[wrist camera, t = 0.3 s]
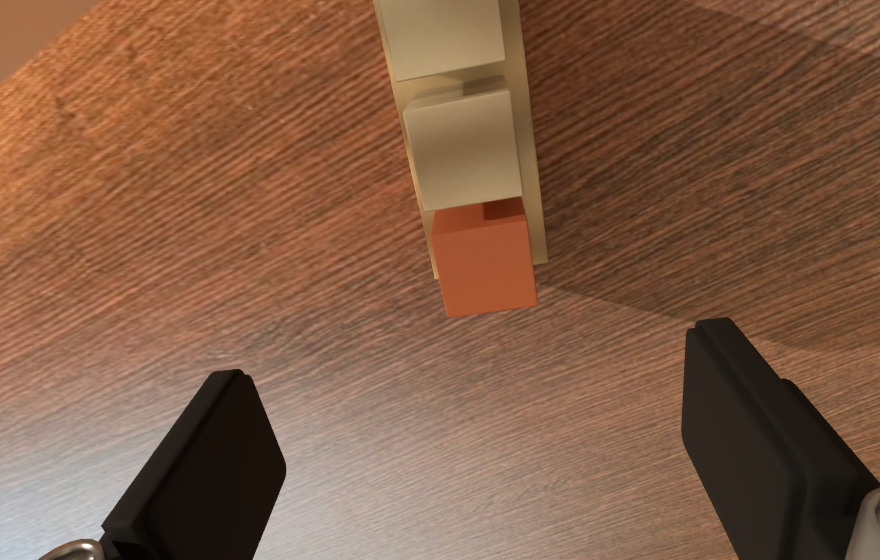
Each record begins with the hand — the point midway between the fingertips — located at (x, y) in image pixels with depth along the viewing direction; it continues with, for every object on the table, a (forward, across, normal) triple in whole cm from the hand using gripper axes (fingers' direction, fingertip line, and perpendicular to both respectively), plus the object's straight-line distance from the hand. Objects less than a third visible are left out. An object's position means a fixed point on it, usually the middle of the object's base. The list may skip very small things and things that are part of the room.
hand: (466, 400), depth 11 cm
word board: (+17, 0, -3) cm, 17 cm away
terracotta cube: (+16, 0, +2) cm, 16 cm away
